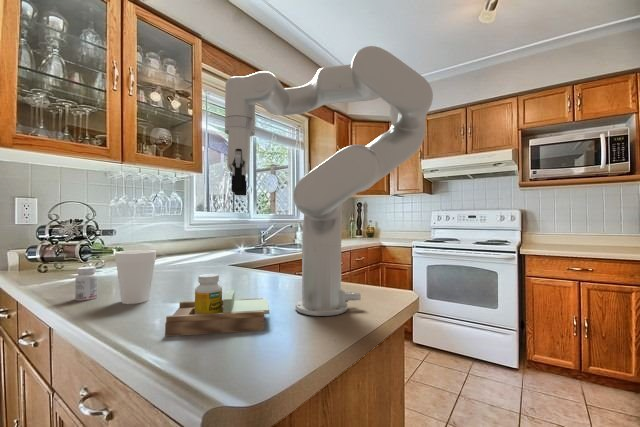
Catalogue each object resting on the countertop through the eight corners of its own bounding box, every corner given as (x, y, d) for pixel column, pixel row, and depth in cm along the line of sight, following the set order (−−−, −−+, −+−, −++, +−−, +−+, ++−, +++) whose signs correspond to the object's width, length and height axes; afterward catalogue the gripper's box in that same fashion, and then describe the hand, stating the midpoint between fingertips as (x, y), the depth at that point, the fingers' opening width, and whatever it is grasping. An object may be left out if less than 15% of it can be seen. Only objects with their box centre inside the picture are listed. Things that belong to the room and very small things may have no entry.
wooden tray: (262, 312, 73) (263, 297, 73) (264, 329, 61) (264, 312, 61) (180, 316, 69) (180, 301, 69) (165, 336, 57) (165, 317, 57)
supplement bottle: (207, 316, 68) (207, 272, 68) (227, 319, 66) (227, 274, 66) (188, 323, 63) (189, 276, 63) (209, 327, 61) (210, 278, 61)
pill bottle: (95, 295, 88) (95, 265, 88) (98, 298, 85) (99, 267, 85) (73, 298, 85) (74, 267, 85) (76, 301, 81) (77, 269, 82)
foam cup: (108, 301, 82) (109, 252, 82) (144, 294, 89) (145, 249, 89) (124, 307, 76) (125, 254, 76) (162, 299, 84) (162, 251, 84)
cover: (267, 302, 71) (267, 288, 72) (269, 313, 63) (269, 298, 63) (227, 304, 70) (227, 290, 70) (222, 316, 61) (223, 300, 61)
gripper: (228, 135, 88) (227, 196, 88) (221, 115, 71) (220, 190, 71) (255, 137, 90) (254, 196, 89) (254, 118, 73) (254, 191, 72)
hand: (239, 193), depth 80 cm, fingers open, 9 cm apart
